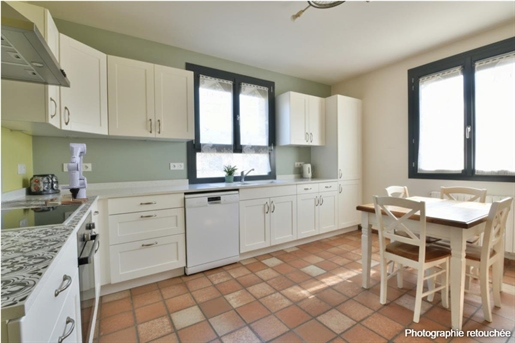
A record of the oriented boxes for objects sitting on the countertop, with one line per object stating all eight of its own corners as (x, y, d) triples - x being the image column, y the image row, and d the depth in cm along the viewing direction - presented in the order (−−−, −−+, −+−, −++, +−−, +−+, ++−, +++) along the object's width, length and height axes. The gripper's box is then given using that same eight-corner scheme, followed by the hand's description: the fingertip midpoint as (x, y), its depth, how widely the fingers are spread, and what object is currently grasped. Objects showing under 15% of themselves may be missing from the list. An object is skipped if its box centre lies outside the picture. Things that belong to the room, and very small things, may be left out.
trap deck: (55, 202, 168) (55, 197, 168) (88, 200, 176) (88, 195, 176) (45, 206, 154) (44, 201, 154) (81, 204, 161) (81, 199, 161)
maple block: (65, 200, 166) (64, 194, 166) (73, 199, 168) (73, 194, 168) (62, 201, 161) (62, 195, 161) (71, 200, 163) (71, 195, 163)
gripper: (59, 180, 159) (60, 200, 160) (84, 180, 165) (85, 199, 165) (63, 179, 166) (64, 198, 166) (87, 179, 171) (88, 197, 172)
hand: (75, 198), depth 166 cm, fingers closed
